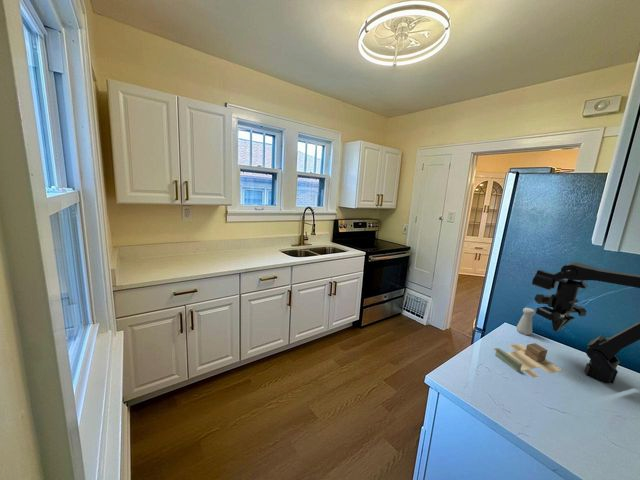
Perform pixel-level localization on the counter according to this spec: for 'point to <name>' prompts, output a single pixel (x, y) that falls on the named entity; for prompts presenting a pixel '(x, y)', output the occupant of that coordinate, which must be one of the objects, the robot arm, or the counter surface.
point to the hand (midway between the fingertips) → (555, 330)
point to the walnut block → (536, 352)
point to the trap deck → (524, 360)
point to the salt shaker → (526, 322)
